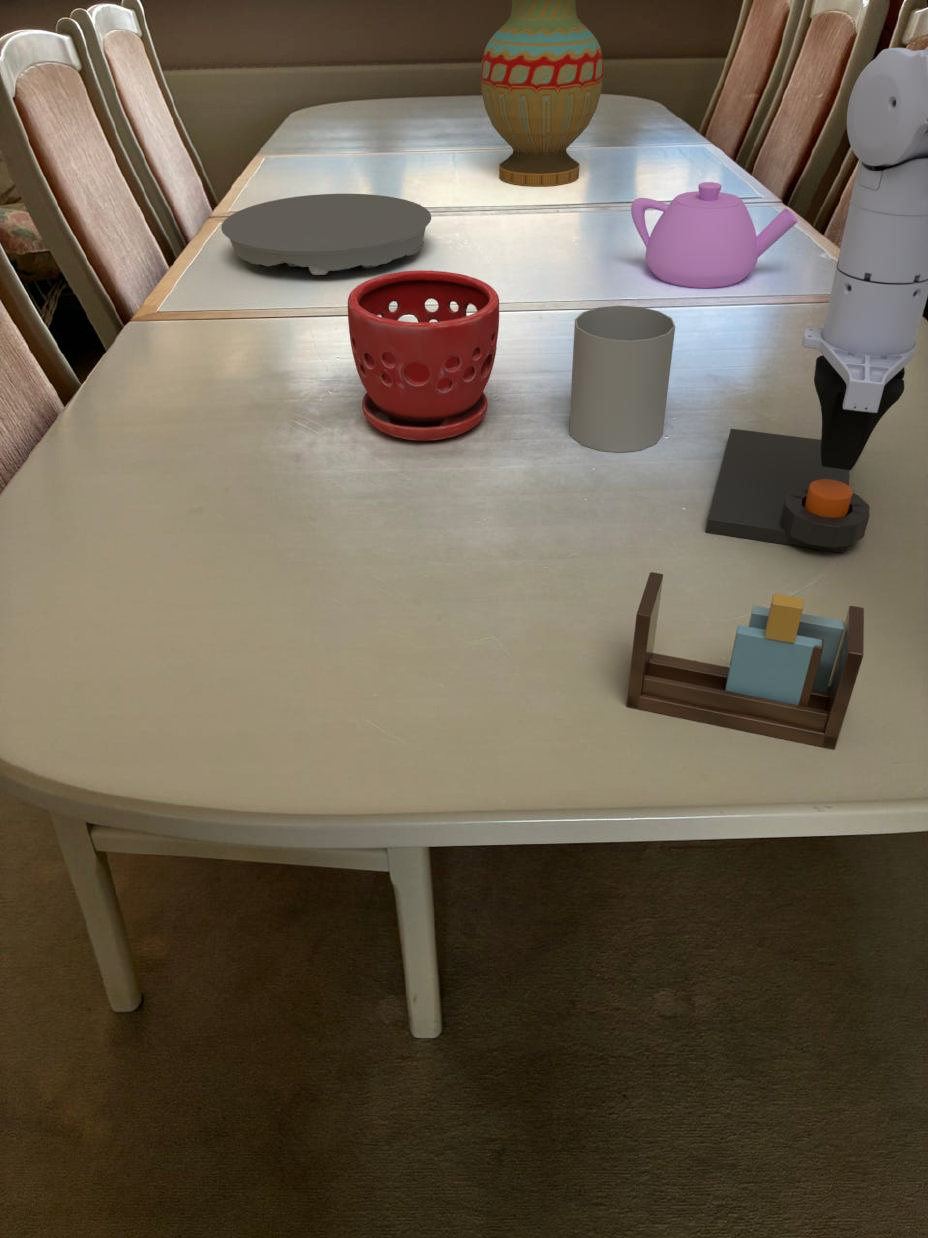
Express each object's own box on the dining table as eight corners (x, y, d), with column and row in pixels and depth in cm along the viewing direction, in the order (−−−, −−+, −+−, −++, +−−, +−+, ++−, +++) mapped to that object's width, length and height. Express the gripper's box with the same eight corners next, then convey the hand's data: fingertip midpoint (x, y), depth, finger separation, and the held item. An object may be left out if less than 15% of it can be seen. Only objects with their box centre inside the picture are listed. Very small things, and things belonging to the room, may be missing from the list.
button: (805, 496, 72) (810, 476, 71) (847, 502, 71) (853, 481, 70) (803, 516, 70) (808, 495, 69) (846, 523, 69) (852, 501, 68)
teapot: (787, 296, 114) (805, 202, 108) (619, 286, 118) (627, 194, 112) (786, 261, 125) (802, 173, 118) (632, 253, 129) (639, 167, 123)
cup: (667, 452, 83) (681, 340, 77) (573, 452, 84) (579, 341, 78) (654, 410, 90) (666, 304, 84) (566, 411, 90) (572, 305, 84)
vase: (619, 173, 165) (635, -37, 147) (549, 197, 153) (556, -29, 135) (529, 158, 176) (534, -40, 157) (457, 179, 164) (453, -33, 146)
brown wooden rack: (837, 700, 58) (864, 607, 54) (835, 750, 54) (863, 655, 50) (639, 662, 61) (650, 571, 57) (625, 706, 58) (636, 613, 53)
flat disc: (423, 220, 143) (422, 189, 141) (442, 280, 121) (441, 244, 119) (234, 230, 141) (229, 198, 138) (218, 293, 119) (212, 256, 116)
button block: (728, 440, 85) (734, 409, 83) (861, 457, 82) (870, 425, 80) (702, 542, 72) (708, 507, 70) (859, 566, 69) (869, 531, 67)
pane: (805, 705, 56) (833, 602, 51) (804, 717, 55) (833, 613, 50) (725, 689, 57) (745, 588, 52) (723, 700, 56) (743, 598, 52)
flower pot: (331, 438, 87) (317, 307, 79) (398, 383, 96) (390, 261, 89) (463, 465, 82) (460, 328, 75) (519, 404, 92) (522, 278, 84)
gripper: (822, 233, 66) (785, 414, 75) (812, 302, 56) (770, 505, 64) (931, 240, 65) (881, 425, 73) (943, 313, 54) (883, 521, 62)
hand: (836, 464), depth 68 cm, fingers closed
